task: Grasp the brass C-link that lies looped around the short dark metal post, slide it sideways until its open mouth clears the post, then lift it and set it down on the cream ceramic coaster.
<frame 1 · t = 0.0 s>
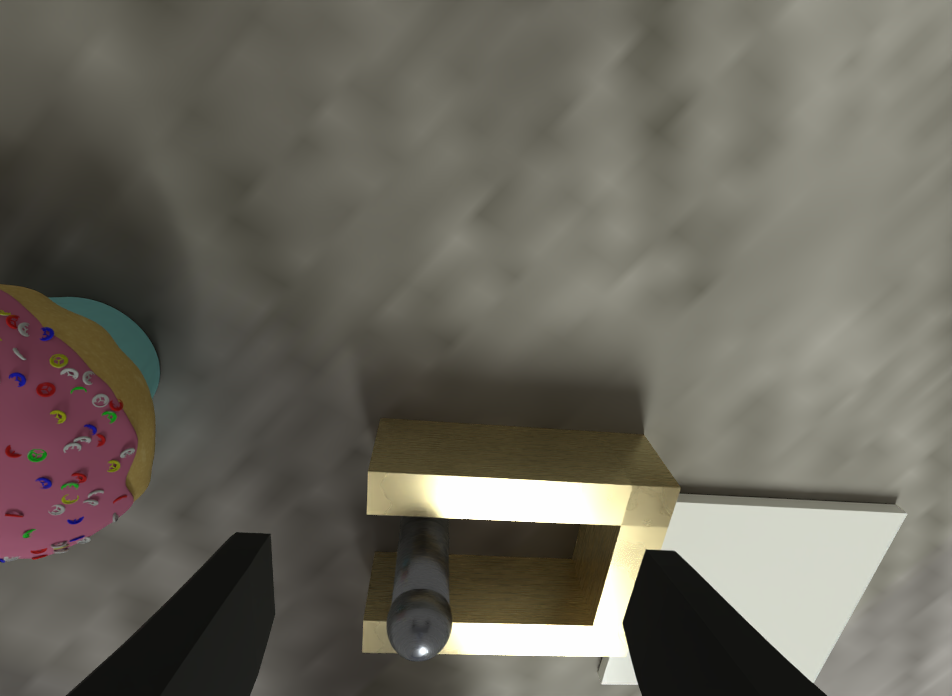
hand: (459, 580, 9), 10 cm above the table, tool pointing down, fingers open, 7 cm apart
cupcake: (98, 360, 18), on the table
coaster: (737, 594, 25), on the table
c link: (501, 511, 22), on the table
post: (425, 508, 21), on the table
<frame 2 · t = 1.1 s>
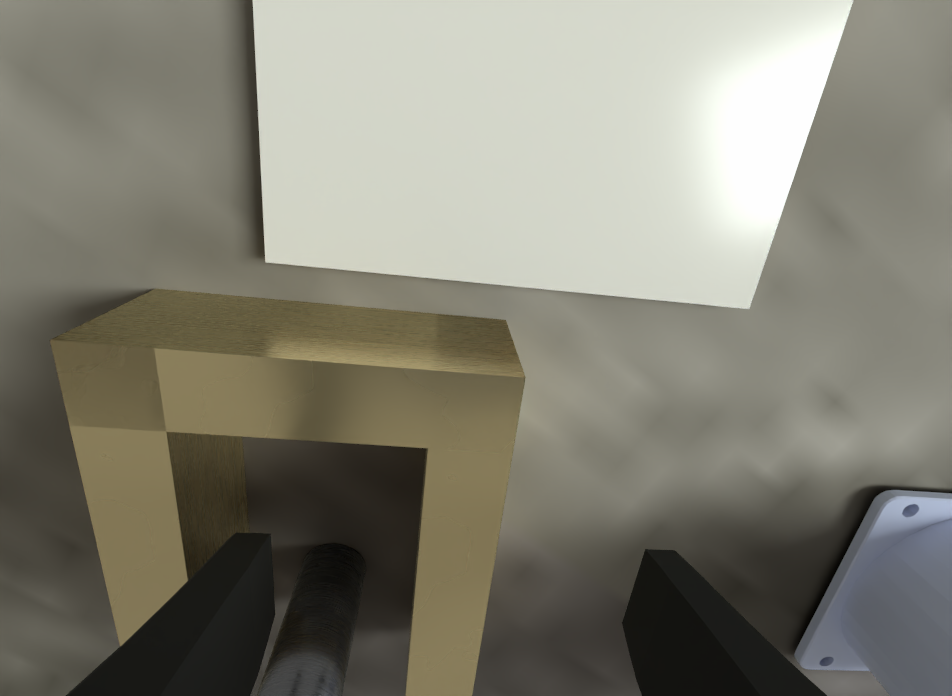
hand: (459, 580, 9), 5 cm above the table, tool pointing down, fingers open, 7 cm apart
coaster: (556, 2, 10), on the table
c link: (335, 480, 15), on the table
post: (334, 567, 16), on the table
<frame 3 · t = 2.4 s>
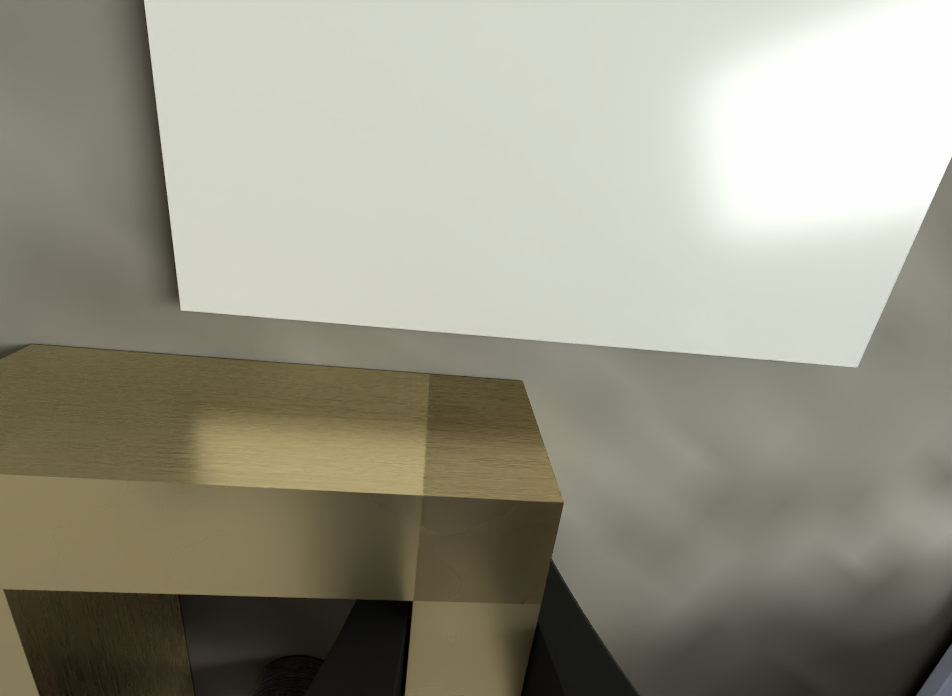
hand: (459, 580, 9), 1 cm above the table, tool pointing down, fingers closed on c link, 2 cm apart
c link: (296, 583, 11), on the table, touching gripper
post: (299, 683, 12), on the table
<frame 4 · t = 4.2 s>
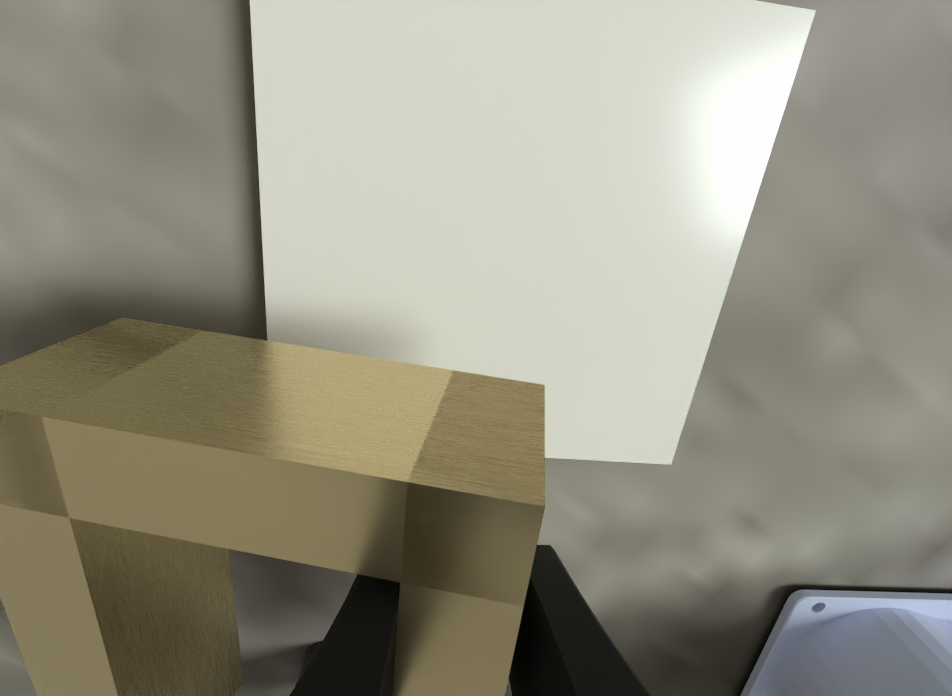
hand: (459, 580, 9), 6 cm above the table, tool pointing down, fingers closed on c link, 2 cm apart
coaster: (505, 250, 13), on the table
c link: (327, 555, 12), point 4 cm above the table, tilted 11°, touching gripper
post: (330, 659, 18), on the table
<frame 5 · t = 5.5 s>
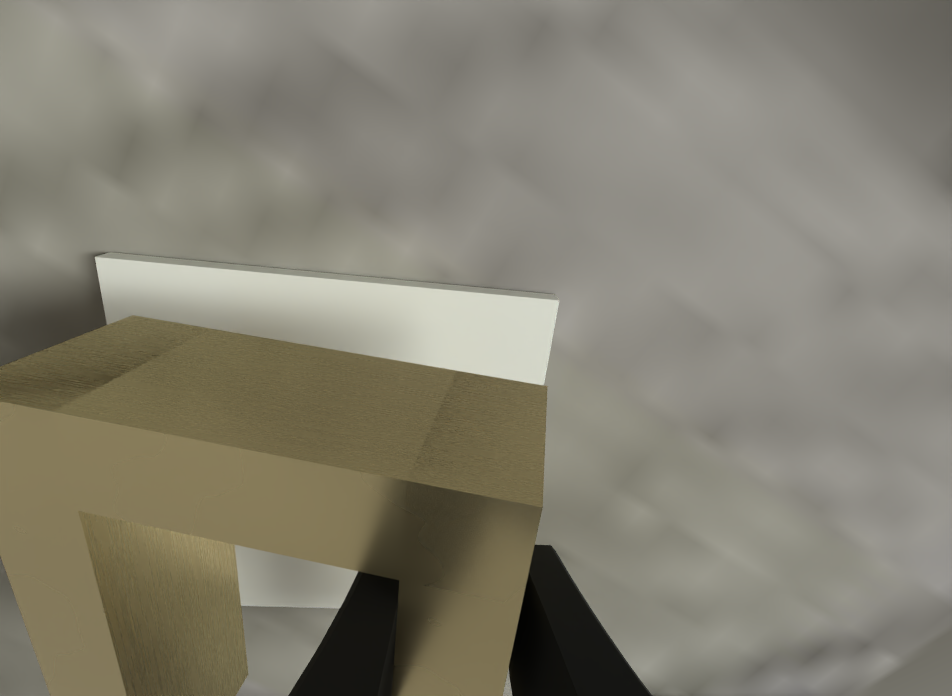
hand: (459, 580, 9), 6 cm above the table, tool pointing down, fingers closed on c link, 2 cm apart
coaster: (340, 456, 16), on the table
c link: (331, 552, 12), point 4 cm above the table, tilted 12°, touching gripper
when the fingers open (3 cm above the table, at t = 6.2 s): c link stays where it is, resting on coaster.
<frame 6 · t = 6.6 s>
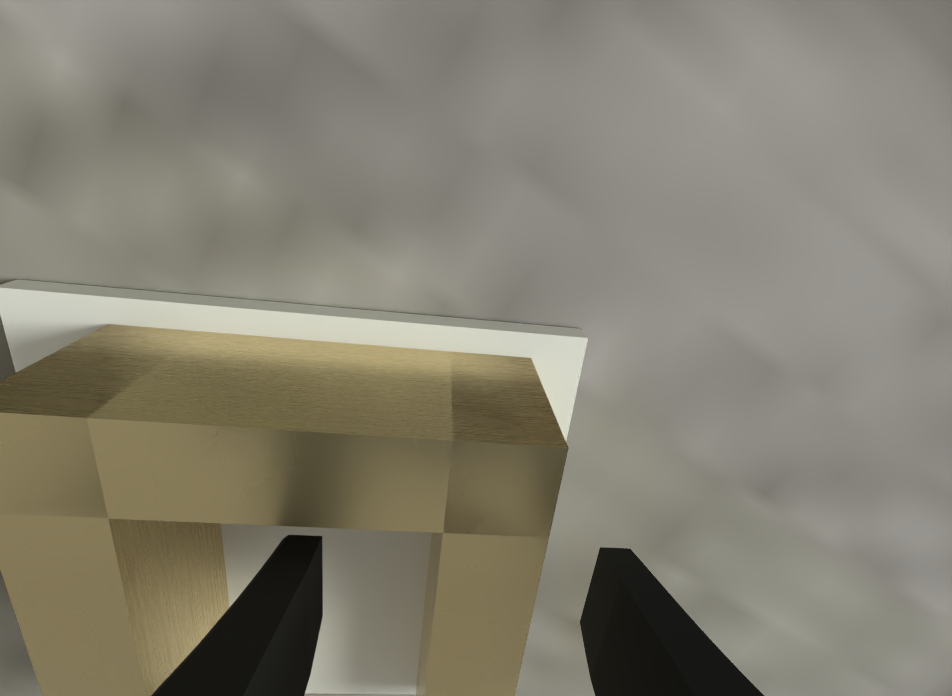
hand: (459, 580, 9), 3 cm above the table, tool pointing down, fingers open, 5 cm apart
coaster: (317, 521, 13), on the table
c link: (328, 541, 12), point 1 cm above the table, touching coaster
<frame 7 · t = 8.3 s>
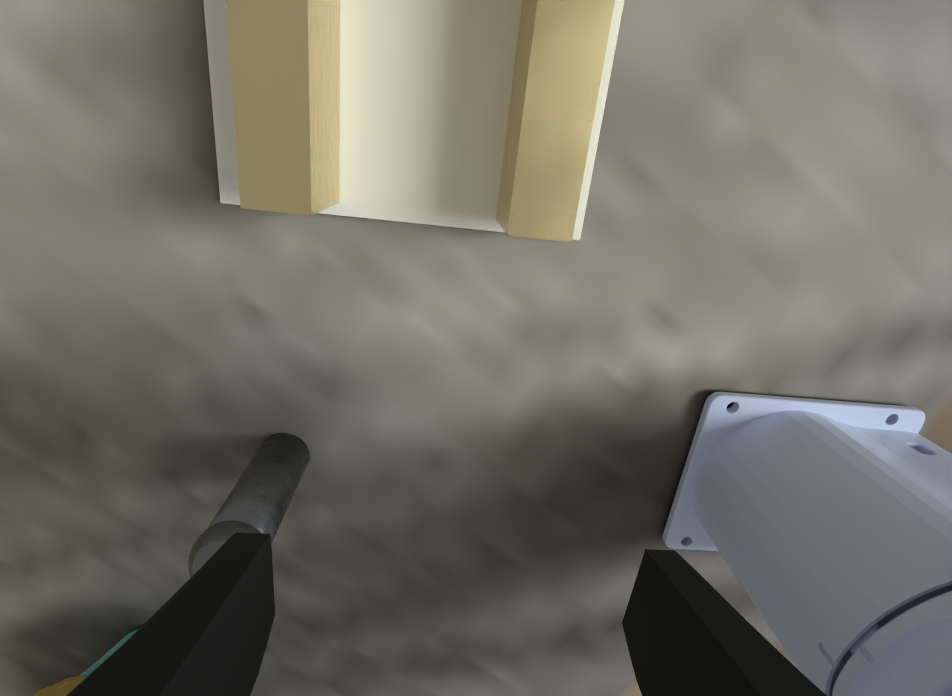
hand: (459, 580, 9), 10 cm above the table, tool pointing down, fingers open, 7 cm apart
cupcake: (173, 652, 25), on the table
coaster: (418, 16, 15), on the table
c link: (430, 17, 14), point 1 cm above the table, touching coaster
post: (285, 454, 20), on the table
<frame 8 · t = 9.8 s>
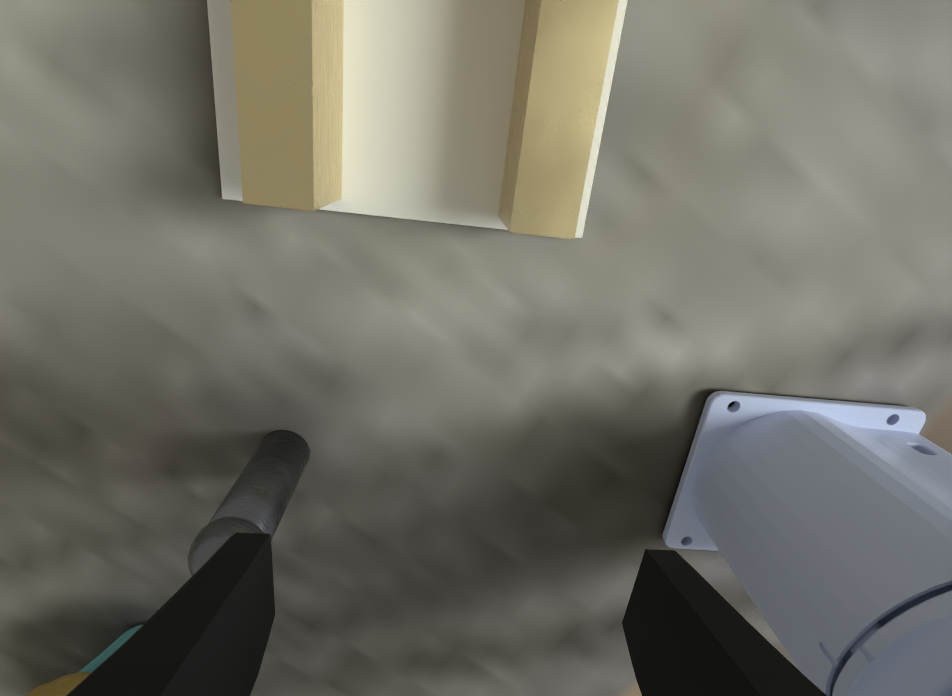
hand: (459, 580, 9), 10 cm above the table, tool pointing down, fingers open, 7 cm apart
cupcake: (172, 650, 25), on the table
coaster: (421, 13, 15), on the table
c link: (434, 13, 14), point 1 cm above the table, touching coaster
post: (285, 451, 20), on the table
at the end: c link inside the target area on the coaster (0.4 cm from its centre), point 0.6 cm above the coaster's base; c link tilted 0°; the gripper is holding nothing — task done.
